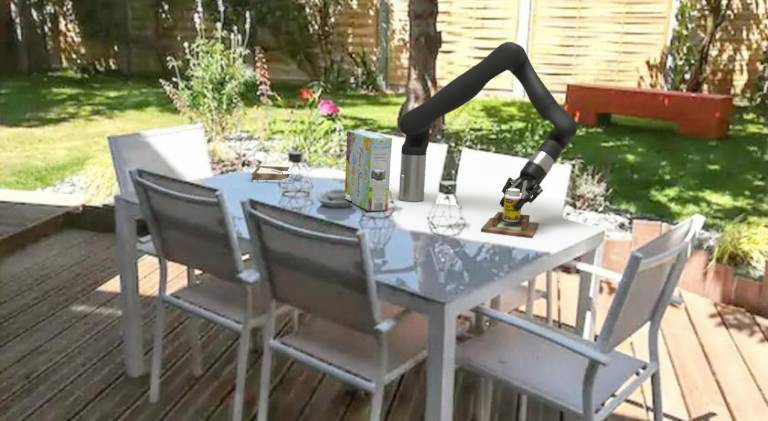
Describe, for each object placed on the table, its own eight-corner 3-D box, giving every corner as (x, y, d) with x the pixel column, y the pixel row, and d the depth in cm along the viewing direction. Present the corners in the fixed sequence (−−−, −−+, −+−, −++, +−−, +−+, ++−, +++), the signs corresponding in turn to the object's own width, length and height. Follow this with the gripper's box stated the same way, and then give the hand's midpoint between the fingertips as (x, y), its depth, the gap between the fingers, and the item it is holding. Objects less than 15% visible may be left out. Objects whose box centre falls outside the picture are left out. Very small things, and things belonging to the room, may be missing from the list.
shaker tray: (252, 181, 287) (252, 173, 286) (258, 173, 304) (258, 165, 303) (292, 183, 287) (293, 174, 287) (297, 175, 304) (297, 167, 303)
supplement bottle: (501, 221, 228) (503, 190, 226) (503, 217, 234) (506, 186, 231) (518, 223, 227) (521, 191, 224) (521, 219, 232) (523, 188, 230)
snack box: (390, 211, 248) (393, 137, 242) (367, 212, 244) (370, 138, 238) (364, 197, 267) (366, 129, 261) (343, 199, 263) (345, 129, 257)
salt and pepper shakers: (253, 181, 289) (280, 183, 288) (253, 171, 288) (280, 173, 287) (260, 176, 300) (286, 178, 300) (260, 166, 299) (286, 168, 299)
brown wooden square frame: (480, 231, 226) (481, 219, 225) (490, 220, 241) (491, 209, 240) (531, 238, 221) (532, 225, 220) (538, 226, 236) (539, 214, 235)
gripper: (516, 157, 236) (487, 196, 231) (549, 164, 224) (519, 205, 220) (525, 171, 240) (497, 210, 236) (559, 179, 229) (530, 219, 225)
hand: (508, 207), depth 228 cm, fingers closed on supplement bottle, 5 cm apart
